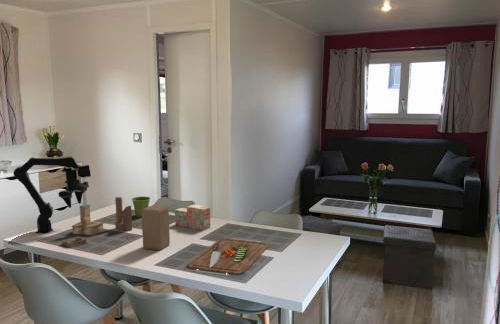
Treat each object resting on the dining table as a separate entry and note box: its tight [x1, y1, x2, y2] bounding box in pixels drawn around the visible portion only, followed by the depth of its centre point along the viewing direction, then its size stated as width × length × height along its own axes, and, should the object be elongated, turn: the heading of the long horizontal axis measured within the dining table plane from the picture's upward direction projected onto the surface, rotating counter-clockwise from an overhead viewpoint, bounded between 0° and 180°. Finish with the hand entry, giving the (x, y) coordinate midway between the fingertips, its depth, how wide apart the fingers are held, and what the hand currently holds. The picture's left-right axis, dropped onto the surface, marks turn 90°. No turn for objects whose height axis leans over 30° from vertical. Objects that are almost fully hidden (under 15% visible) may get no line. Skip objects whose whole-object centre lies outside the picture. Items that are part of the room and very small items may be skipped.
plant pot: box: [131, 196, 151, 218], centre depth 266 cm, size 12×12×11 cm
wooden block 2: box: [115, 196, 133, 232], centre depth 237 cm, size 4×11×18 cm, turn 54°
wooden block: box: [141, 204, 171, 251], centre depth 206 cm, size 10×10×20 cm
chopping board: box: [186, 237, 270, 277], centre depth 195 cm, size 45×27×3 cm, turn 161°
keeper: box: [61, 236, 87, 249], centre depth 213 cm, size 8×9×2 cm
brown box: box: [71, 221, 104, 236], centre depth 232 cm, size 14×10×4 cm
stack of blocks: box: [174, 204, 211, 231], centre depth 242 cm, size 21×6×12 cm, turn 59°
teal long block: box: [79, 204, 92, 226], centre depth 230 cm, size 4×4×11 cm
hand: (74, 205), depth 239 cm, fingers open, 9 cm apart
